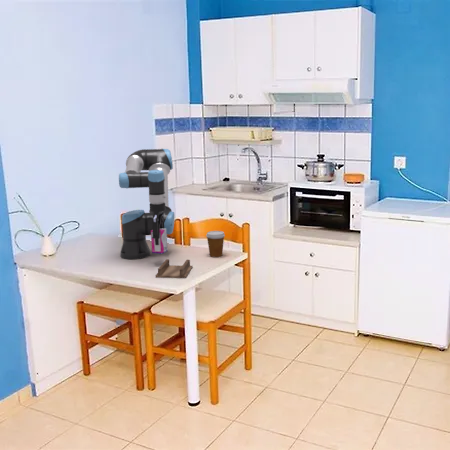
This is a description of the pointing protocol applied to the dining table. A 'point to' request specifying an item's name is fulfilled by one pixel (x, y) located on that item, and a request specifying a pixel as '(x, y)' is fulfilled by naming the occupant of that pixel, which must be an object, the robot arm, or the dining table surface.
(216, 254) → the disposable coffee cup
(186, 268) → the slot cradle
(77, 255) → the dining table surface
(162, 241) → the supplement box
